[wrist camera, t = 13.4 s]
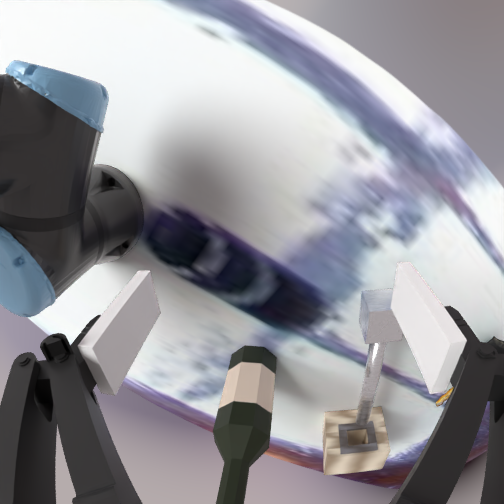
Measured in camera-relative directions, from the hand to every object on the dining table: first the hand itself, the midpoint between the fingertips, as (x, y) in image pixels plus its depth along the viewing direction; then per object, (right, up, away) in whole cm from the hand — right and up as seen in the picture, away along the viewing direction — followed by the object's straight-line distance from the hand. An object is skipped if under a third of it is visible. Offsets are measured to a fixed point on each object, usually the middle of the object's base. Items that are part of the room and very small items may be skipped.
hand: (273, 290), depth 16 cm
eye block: (+20, -34, +41) cm, 57 cm away
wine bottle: (-1, -17, +37) cm, 41 cm away
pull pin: (+17, -15, +28) cm, 36 cm away
